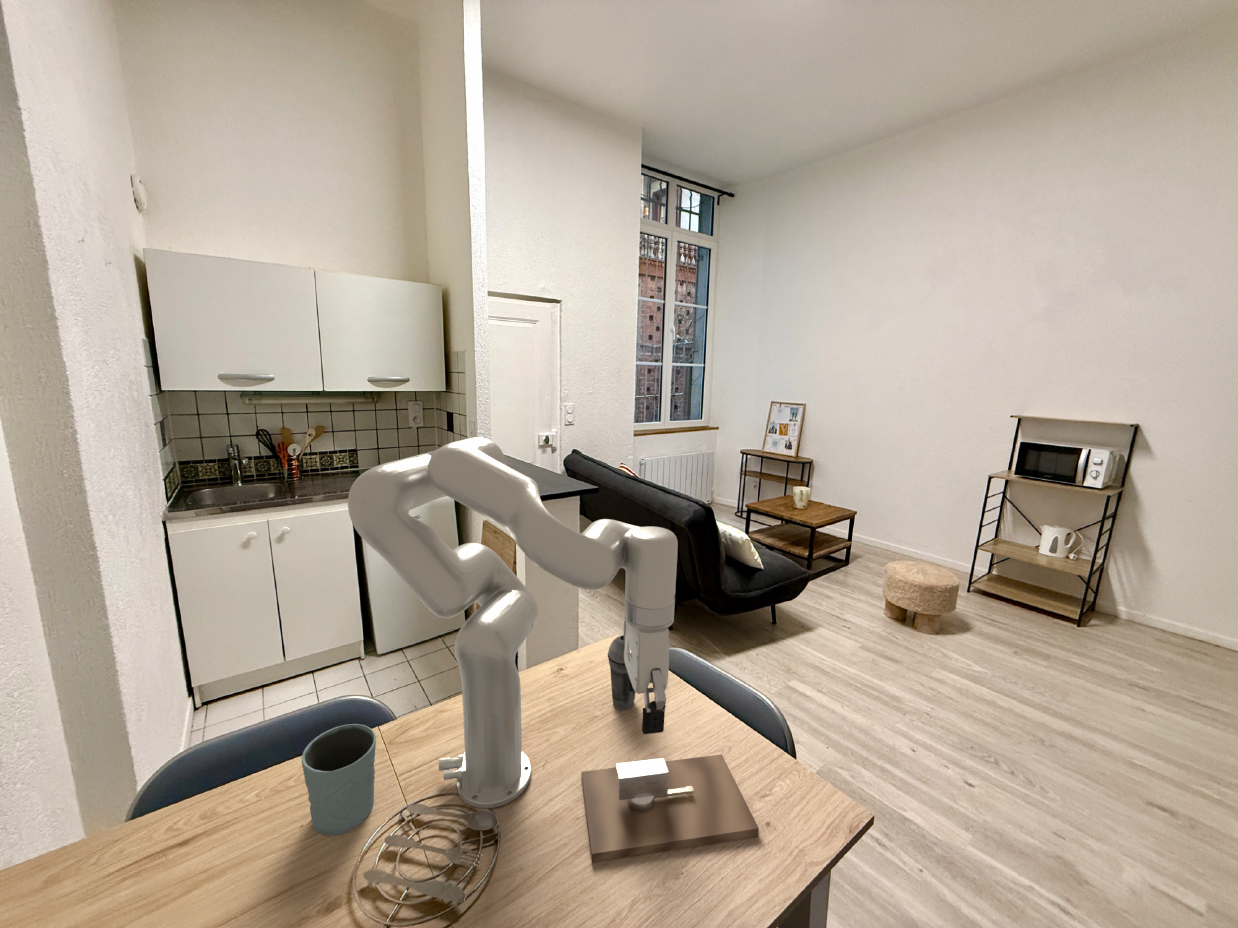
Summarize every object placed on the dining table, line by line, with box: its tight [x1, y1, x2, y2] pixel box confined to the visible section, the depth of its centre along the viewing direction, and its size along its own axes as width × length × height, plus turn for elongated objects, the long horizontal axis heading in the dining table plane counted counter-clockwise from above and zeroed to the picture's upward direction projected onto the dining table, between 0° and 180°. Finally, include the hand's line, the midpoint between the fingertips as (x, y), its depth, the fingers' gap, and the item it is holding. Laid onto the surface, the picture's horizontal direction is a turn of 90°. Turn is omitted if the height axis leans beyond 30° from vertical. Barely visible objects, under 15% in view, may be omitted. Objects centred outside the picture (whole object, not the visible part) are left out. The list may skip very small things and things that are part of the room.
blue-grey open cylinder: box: [301, 723, 377, 837], centre depth 77 cm, size 10×10×12 cm
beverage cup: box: [607, 619, 637, 711], centre depth 103 cm, size 7×7×20 cm
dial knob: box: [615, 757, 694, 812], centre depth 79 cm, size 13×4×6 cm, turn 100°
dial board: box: [580, 754, 760, 863], centre depth 80 cm, size 26×15×2 cm, turn 100°
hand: (644, 709), depth 76 cm, fingers open, 9 cm apart
